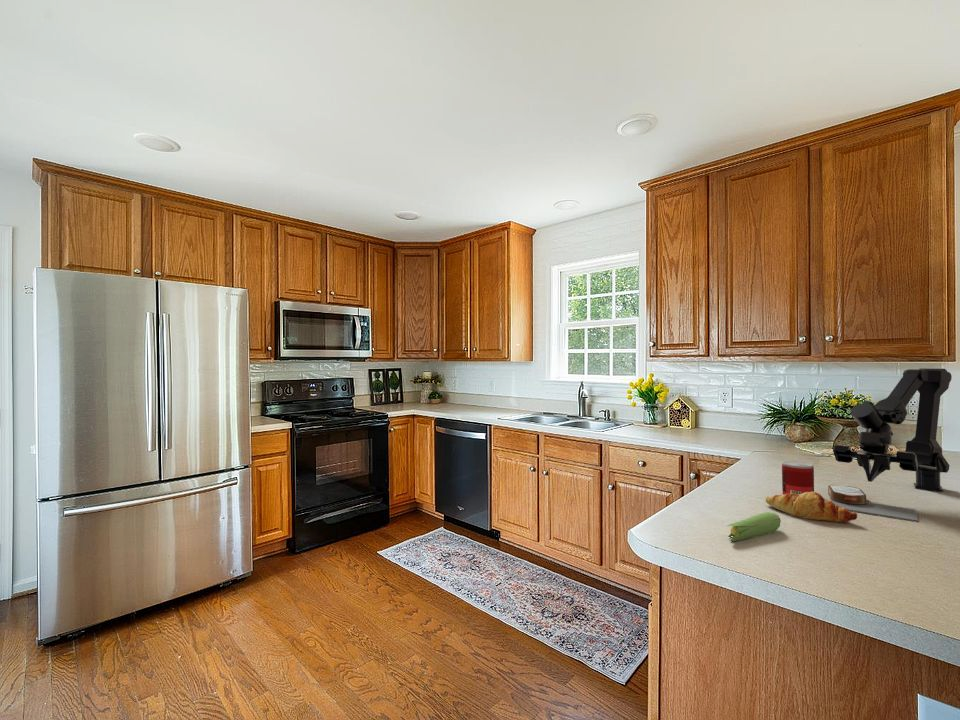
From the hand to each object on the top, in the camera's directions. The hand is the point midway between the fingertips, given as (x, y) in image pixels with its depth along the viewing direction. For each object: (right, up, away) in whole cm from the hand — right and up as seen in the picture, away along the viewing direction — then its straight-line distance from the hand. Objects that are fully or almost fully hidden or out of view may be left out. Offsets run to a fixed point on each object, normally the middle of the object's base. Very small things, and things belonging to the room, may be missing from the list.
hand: (869, 480), depth 131 cm
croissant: (-23, -8, -7) cm, 26 cm away
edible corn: (-48, -8, -21) cm, 53 cm away
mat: (-3, -7, -4) cm, 9 cm away
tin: (+1, -5, +3) cm, 6 cm away
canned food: (-17, -8, +6) cm, 19 cm away
